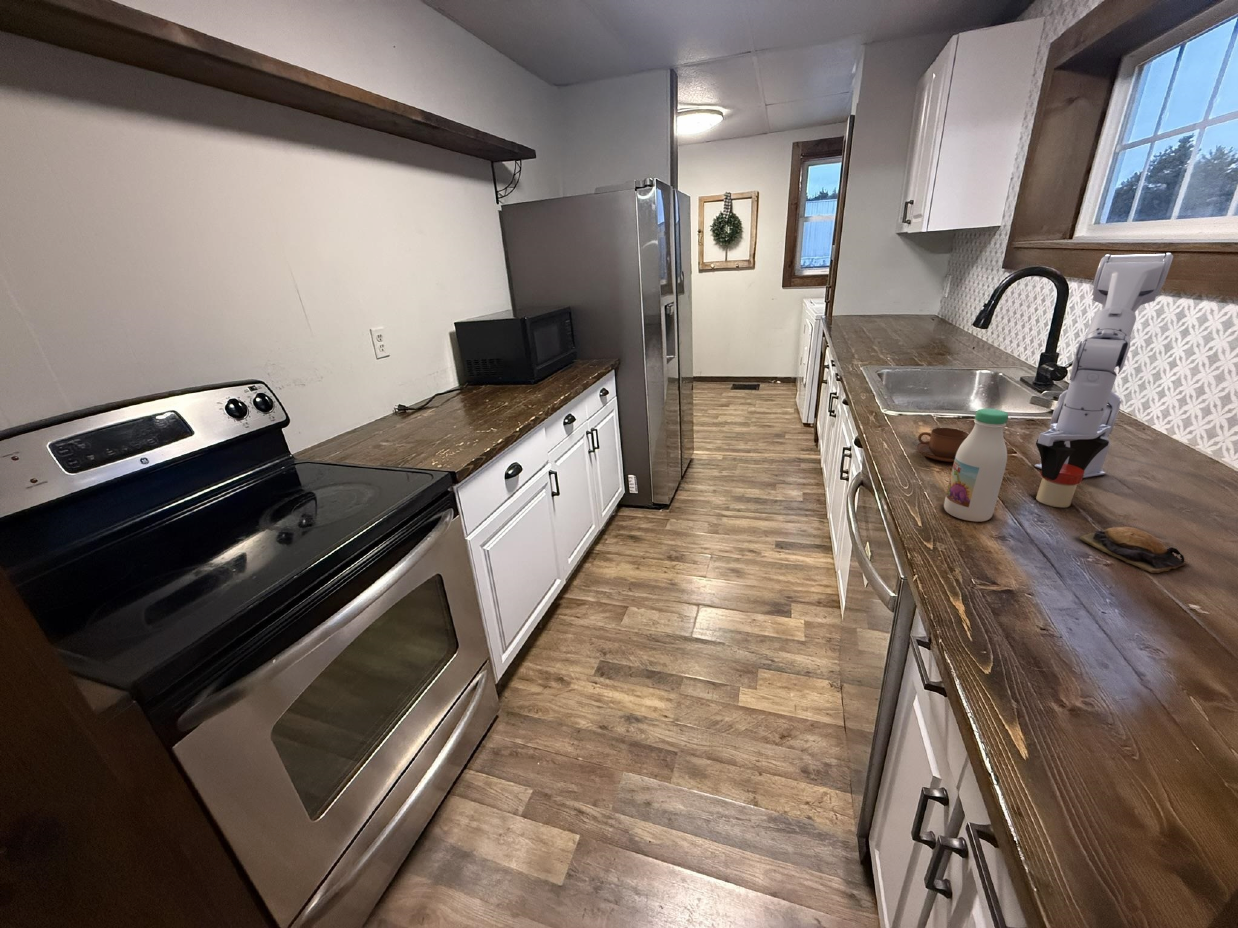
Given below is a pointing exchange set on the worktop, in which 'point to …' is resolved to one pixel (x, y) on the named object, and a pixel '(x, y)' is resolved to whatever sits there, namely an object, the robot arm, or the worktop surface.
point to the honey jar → (1055, 493)
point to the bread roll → (1135, 548)
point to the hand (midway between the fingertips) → (1061, 475)
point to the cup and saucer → (942, 443)
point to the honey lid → (1068, 475)
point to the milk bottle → (978, 468)
